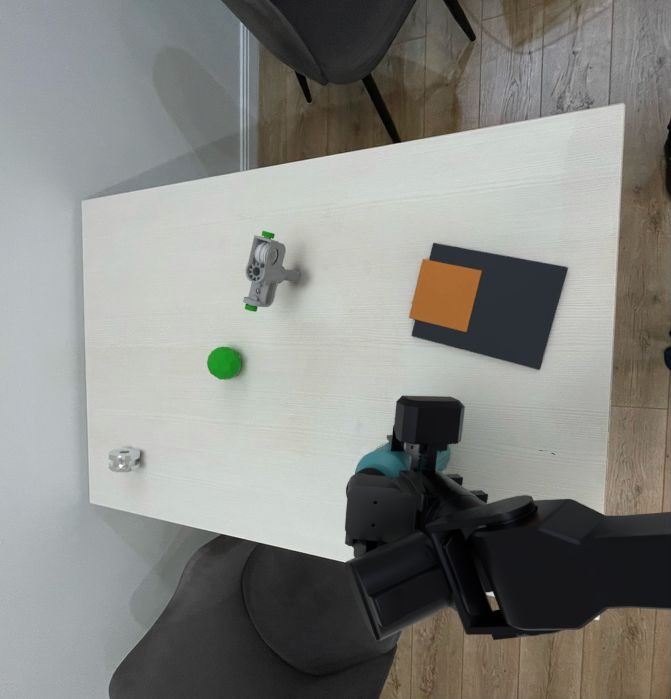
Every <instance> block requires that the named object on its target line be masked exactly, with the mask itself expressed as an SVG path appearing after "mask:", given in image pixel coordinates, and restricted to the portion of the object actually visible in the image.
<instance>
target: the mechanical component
mask: <svg viewBox="0 0 671 699" xmlns="http://www.w3.org/2000/svg"><path fill="white" fill-rule="evenodd" d="M275 235H276V234H275V233H273V232H270V231H266V230H262V231H261V235H256V234H254V236H253V240H252V244H251V249H250V254H249V258H248V262H247V263H246V264H247V265H246V266H245V277H246V278H247V281H249V282H251V284H250V288H249V292H248V296H243V300H242V302H243V303H244V304H245V305H244V310H246V311H249V312H255V313H256V312H258V307H259V308H269V307H270V306H271V305H272V304H273V303H274V301H275V297H276V292H277V288H278V285H279V284H280V285H281V284H282V283H284V282H293V283H296V282H299V281H300V280H301V278H302V275H301V273H300V272H299V271H297V270H293V269H286V268H285V266H283V264H284V259H285V255H286V246H285V244H284V243H282V242H279V240H274V239H275Z"/></svg>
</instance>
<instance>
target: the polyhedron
mask: <svg viewBox="0 0 671 699" xmlns="http://www.w3.org/2000/svg"><path fill="white" fill-rule="evenodd" d="M206 365H207V369H208V372H209V373H210V375H212V376H213V377H215V378H217V379H218V380H232V379H233V378H234V377H235V376H236V375H237V376H238V373H239V372H240V371H241V367H242V359H241V356H240V354H239V352H238V351H236V350H235V349H233V348H232V347H230V346H219V347H216V348H215V349H213V350H212V351H211V352H210V353H209V355H208V356H207V360H206Z"/></svg>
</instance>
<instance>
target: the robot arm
mask: <svg viewBox="0 0 671 699" xmlns="http://www.w3.org/2000/svg"><path fill="white" fill-rule="evenodd" d="M465 409H466V406H465V405H464V403H462V402H461V400H460V399H458V398H455V397H453V396H449V395H447V396H446V395H443V396H441V395H402V396H400V397H399V398H398V399H397V400H396V402H395V412H394V423H393V425H392V434H386V440H387V442H388V441H389V442H390V443H391V452H396V451H405V452H406V453H408V454H409V455H410V459H409V470H400V471H399V477H395V478H394V477H387V476H376V475H367V474H362V473H358V474H355V473H354V474H352V476H350V478H349V480H348V481H349V483H348V482H347V484H348V495H347V496H346V509H345V520H344V531H345V538H344V544H345V545H346V546H348V547H352V548H353V558H351V559H348V560H346V561H345V572H346V575H347V579H348V582H349V586H350V589H351V591H352V594H353V597H354V599H355V602H356V605H357V607H358V610H359V612H360V614H361V617H362V619H363V622H364V623H365V626H366V627H367V630H368V631H369V633H370V635H371V636H372V639H374V641H375V642H378V641H383V640H385V639H387V638H389V637H391V636H393V635H395V634H398V633H399V632H402V631H404V630H405V629H407V628H410V627H411V626H413V625H416V624H418V623H420V622H422V621H424V620H426V619H428V618H430V617H432V616H434V615H436V614H438V613H440V612H442V611H444V610H446V609H448V608H451V609H452V610H454V612H457V615H458V617H459V618H458V619H459V620H460V623H461V626H462V628H463V631H464V632H465V634H464V635H468V636H477V635H478V636H479V635H480V636H483V635H484V636H485V635H488V636H489V635H490V636H491V638H492V640H493V641H497V640H498V641H499V640H507V639H508V640H509V639H517V638H525V637H536V636H544V635H553V634H558V633H560V632H563V631H579V630H582V629H584V628H585V627H586V626H587V625H588V624H590V623H591V622H592V621H594V620H595V619H596V618H598V617H600V615H602V614H603V613H604V612H606V611H607V610H612V609H615V610H616V609H643V610H644V609H645V610H664V611H671V511H663V512H662V511H661V512H650V513H639V514H628V515H627V514H625V515H624V514H623V515H606V514H603V513H601V512H599V511H598V510H595V509H594V508H591V507H589V506H587V505H586V504H583V503H581V502H579V501H577V500H575V499H572V498H554V499H552V498H551V499H535V500H534V498H533V496H532V495H529V494H527V495H525V494H524V495H523V494H521V495H516V496H515V495H514V496H511V497H506V498H503V499H499V500H496V501H493V502H490V503H488V500H489V499H488V498H489V494H488V493H486V492H485V491H484V490H482V489H479V490H478V489H475V490H473V489H472V490H468V489H467V488H465V487H464V486H463V481H464V477H463V476H461V475H460V474H458V473H444V471H443V472H441V471H439V470H436V460H437V451H447V447H448V444H449V445H459V444H460V443H461V442H462V440H463V439H462V437H463V428H464V421H465V420H464V419H465V411H466V410H465ZM389 442H388V443H389ZM418 456H419V457H418ZM417 468H418V469H417ZM487 593H492V594H493V596H494V599H495V601H496V604H497V607H498V609H495V610H493V607H492V605H491V602H490V600H489V597H488V594H487Z"/></svg>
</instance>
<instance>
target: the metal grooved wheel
mask: <svg viewBox="0 0 671 699" xmlns="http://www.w3.org/2000/svg"><path fill="white" fill-rule="evenodd" d="M140 458H141V450H140V449H138V448H134V447H122V448H116V449H111V450H110V451H109V452H108V460H109V461H110V462H108V469H109V471H111V472H114V473H120V474H121V473H130V472H134V471H137V470H138V469H139V468H140V467H141V461H140V460H138V459H140Z"/></svg>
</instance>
